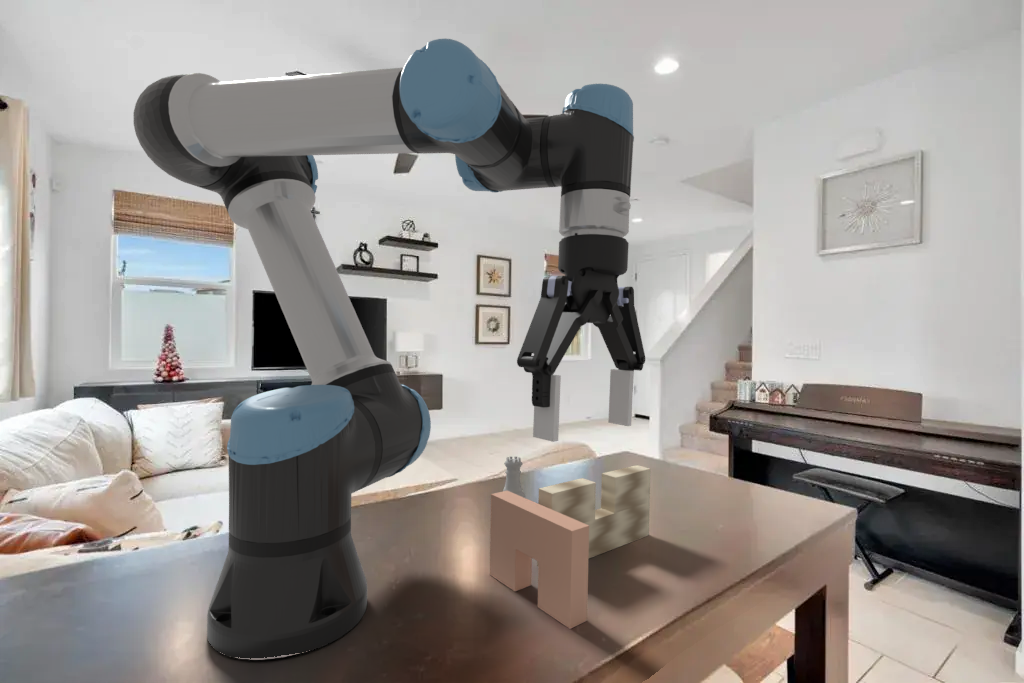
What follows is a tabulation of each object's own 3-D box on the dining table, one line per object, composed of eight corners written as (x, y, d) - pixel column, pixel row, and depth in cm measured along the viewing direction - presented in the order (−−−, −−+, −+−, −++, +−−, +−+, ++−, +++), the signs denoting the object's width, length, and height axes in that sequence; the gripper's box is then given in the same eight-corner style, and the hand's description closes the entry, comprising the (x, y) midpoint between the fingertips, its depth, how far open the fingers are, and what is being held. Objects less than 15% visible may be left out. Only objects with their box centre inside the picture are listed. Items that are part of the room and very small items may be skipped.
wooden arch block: (587, 620, 52) (589, 525, 52) (570, 628, 50) (572, 531, 50) (505, 568, 63) (507, 490, 63) (489, 574, 61) (491, 494, 61)
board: (550, 573, 62) (551, 493, 62) (537, 565, 64) (538, 488, 64) (649, 535, 74) (650, 468, 74) (635, 529, 76) (636, 465, 76)
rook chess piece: (530, 502, 88) (530, 457, 88) (516, 509, 84) (517, 462, 84) (508, 497, 90) (509, 453, 90) (494, 504, 86) (495, 458, 86)
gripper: (544, 210, 43) (535, 455, 43) (679, 250, 61) (671, 423, 61) (486, 221, 48) (478, 439, 49) (625, 255, 66) (618, 414, 66)
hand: (585, 431), depth 55 cm, fingers open, 13 cm apart
